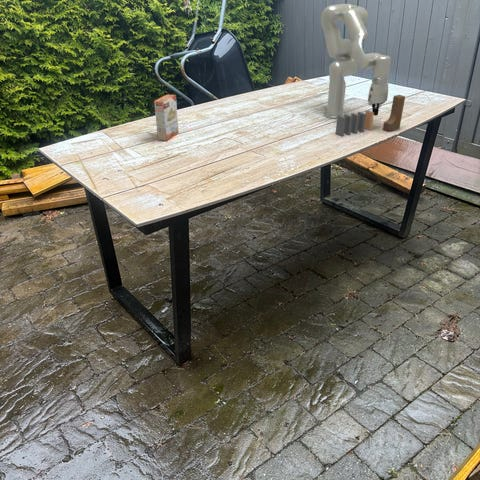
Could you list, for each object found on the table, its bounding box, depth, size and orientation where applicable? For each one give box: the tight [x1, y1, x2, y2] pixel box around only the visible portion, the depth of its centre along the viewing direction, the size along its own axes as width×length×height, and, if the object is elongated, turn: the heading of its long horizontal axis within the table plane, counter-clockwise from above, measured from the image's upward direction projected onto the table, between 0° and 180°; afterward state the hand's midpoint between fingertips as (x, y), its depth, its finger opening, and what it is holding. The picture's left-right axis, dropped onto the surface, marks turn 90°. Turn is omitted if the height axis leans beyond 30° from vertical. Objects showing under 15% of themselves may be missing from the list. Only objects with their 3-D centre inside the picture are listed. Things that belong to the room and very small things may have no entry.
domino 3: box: [350, 112, 359, 134], centre depth 246 cm, size 5×2×10 cm, turn 26°
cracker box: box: [153, 94, 179, 142], centre depth 241 cm, size 14×6×21 cm, turn 160°
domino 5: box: [364, 109, 375, 132], centre depth 250 cm, size 5×2×10 cm, turn 26°
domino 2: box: [344, 113, 353, 136], centre depth 245 cm, size 5×2×10 cm, turn 26°
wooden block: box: [382, 94, 406, 133], centre depth 247 cm, size 9×4×18 cm, turn 123°
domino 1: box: [335, 115, 346, 137], centre depth 243 cm, size 5×2×10 cm, turn 26°
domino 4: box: [357, 111, 366, 133], centre depth 248 cm, size 5×2×10 cm, turn 26°
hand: (374, 114), depth 250 cm, fingers closed
